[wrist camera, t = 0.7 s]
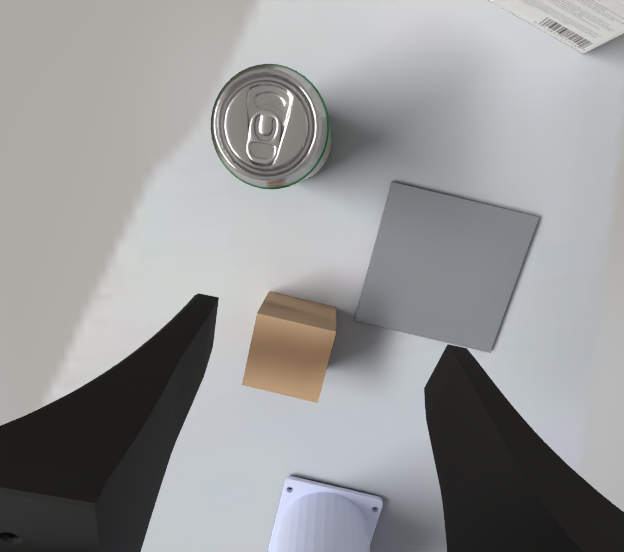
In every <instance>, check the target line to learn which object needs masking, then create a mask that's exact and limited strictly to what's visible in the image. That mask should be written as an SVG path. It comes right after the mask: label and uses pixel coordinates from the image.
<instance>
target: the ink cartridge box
mask: <svg viewBox="0 0 624 552" xmlns="http://www.w3.org/2000/svg"><path fill="white" fill-rule="evenodd" d="M489 1H491V2H493V3H494V4H496V5H498V6H500V7H502V8H503V9H505V10H507V11H509V12H511V13H512V14H514V15H516V16H518V17H519V18H521V19H523V20H525V21H527V22H528V23H530V24H532V25H534V26H535V27H537V28H539V29H541V30H542V31H544V32H546V33H548V34H550V35H551V36H553V37H555V38H556V39H558V40H560V41H562V42H564V43H565V44H567V45H569V46H571V47H572V48H574V49H576V50H577V51H579V52H581V53H586V52H589V51H591V50H593V49H595V48H596V47H598V46H600V45H602V44H604V43H606V42H608V41H610V40H612V39H614V38H616V37H618V36H620V35H622V34H624V0H489Z"/></svg>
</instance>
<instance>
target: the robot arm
mask: <svg viewBox="0 0 624 552" xmlns="http://www.w3.org/2000/svg"><path fill="white" fill-rule="evenodd" d="M218 299H219V298H218V297H213V296H208V295H203V294H197V295H195V296H194V297H193V298H192V299H191V300H190V301H189V303H188V304H187V305H186V306H185V307H184V308H183V309H182V310H181V311H180V312H179V313H178V314H177V315H176V316H175V317H174V318H173V319H172V320H171V321H170V322H169V323H167V324H166V325H165V326H164V327H163V328H162V329H161V330H160V331H159V332H158V333H156V334H155V335H154V336H153V337H152V338H151V339H149V340H148V341H147V342H146V343H144V344H143V345H142V346H141V347H139V348H138V349H137V350H136V351H135V352H133V353H132V354H131V355H129V356H128V357H127V358H125V359H124V360H122V361H121V362H120V363H118V364H117V365H115V366H114V367H112V368H111V369H109V370H108V371H106V372H105V373H103V374H102V375H100V376H99V377H97V378H95V379H94V380H92V381H90V382H89V383H87V384H85V385H84V386H82V387H80V388H79V389H77V390H75V391H73V392H72V393H70V394H68V395H66V396H64V397H62V398H60V399H58V400H56V401H54V402H52V403H50V404H48V405H46V406H44V407H42V408H40V409H38V410H36V411H34V412H32V413H30V414H28V415H26V416H23V417H21V418H19V419H16V420H14V421H11V422H9V423H6V424H4V425H1V426H0V552H140V551H141V548H142V545H143V542H144V538H145V535H146V532H147V528H148V525H149V522H150V518H151V515H152V512H153V509H154V506H155V502H156V499H157V496H158V493H159V490H160V487H161V483H162V480H163V477H164V474H165V471H166V468H167V465H168V462H169V459H170V456H171V453H172V450H173V448H174V445H175V442H176V440H177V437H178V435H179V433H180V430H181V428H182V426H183V424H184V421H185V419H186V417H187V414H188V412H189V410H190V407H191V405H192V403H193V400H194V398H195V396H196V393H197V391H198V389H199V386H200V384H201V382H202V379H203V377H204V374H205V371H206V367H207V364H208V361H209V358H210V354H211V351H212V347H213V340H214V332H215V324H216V315H217V307H218ZM424 392H425V409H426V420H427V425H428V430H429V435H430V440H431V445H432V450H433V455H434V460H435V464H436V469H437V474H438V479H439V484H440V489H441V495H442V501H443V510H444V520H445V530H446V541H447V552H624V512H623V511H621V510H620V509H619V508H618V507H616V506H615V505H614V504H612V503H611V502H610V501H609V500H607V499H606V498H605V497H604V496H603V495H601V494H600V493H599V492H598V491H596V490H595V489H594V488H593V487H592V486H591V485H590V484H589V483H587V482H586V481H585V480H584V479H583V478H582V477H581V476H579V475H578V474H577V473H576V472H575V471H574V470H573V469H572V468H571V467H569V466H568V465H567V464H566V463H565V462H564V461H563V460H562V459H561V458H560V457H559V456H558V455H557V454H556V453H555V452H554V451H553V450H552V449H551V448H550V447H549V446H548V445H547V444H546V443H545V442H544V441H543V440H542V439H541V438H540V437H539V436H538V435H537V434H536V433H535V431H534V430H533V429H532V428H531V427H530V426H529V425H528V424H527V422H526V421H525V420H524V419H523V418H522V417H521V416H520V414H519V413H518V412H517V411H516V410H515V409H514V407H513V406H512V405H511V404H510V403H509V401H508V400H507V399H506V398H505V396H504V395H503V394H502V393H501V391H500V390H499V389H498V388H497V386H496V385H495V384H494V382H493V381H492V380H491V379H490V377H489V376H488V375H487V373H486V372H485V371H484V370H483V368H482V367H481V366H480V364H479V363H478V362H477V361H476V359H475V358H474V357H473V356H472V354H471V353H470V352H469V351H468V350H467V348H462V347H457V346H453V345H447V347H446V349H445V351H444V352H443V354H442V356H441V358H440V360H439V362H438V364H437V365H436V367H435V369H434V371H433V373H432V375H431V377H430V379H429V380H428V382H427V384H426V386H425V388H424ZM288 487H291V488H292V489H288ZM373 507H377V508H376V509H373ZM382 507H383V501H382V499H381V498H380V497H378V496H374V495H370V494H366V493H361V492H357V491H353V490H349V489H344V488H340V487H336V486H332V485H327V484H323V483H319V482H315V481H310V480H306V479H302V478H298V477H293V476H290V477H287V478H286V480H285V484H284V488H283V492H282V496H281V500H280V504H279V508H278V512H277V516H276V519H275V523H274V527H273V531H272V535H271V539H270V543H269V547H268V551H267V552H370V544H371V541H372V537H373V534H374V531H375V528H376V525H377V522H378V519H379V516H380V513H381V510H382Z"/></svg>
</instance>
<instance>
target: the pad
mask: <svg viewBox="0 0 624 552" xmlns="http://www.w3.org/2000/svg"><path fill="white" fill-rule="evenodd" d="M538 219H539V217H537V216H533V215H529V214H524V213H520V212H516V211H512V210H508V209H503V208H499V207H495V206H491V205H487V204H482V203H478V202H474V201H470V200H466V199H462V198H457V197H453V196H449V195H445V194H441V193H436V192H432V191H428V190H424V189H420V188H416V187H411V186H407V185H403V184H399V183H395V182H392V183H391V187H390V190H389V194H388V198H387V201H386V205H385V209H384V213H383V216H382V220H381V224H380V227H379V231H378V235H377V238H376V242H375V246H374V249H373V253H372V257H371V260H370V264H369V268H368V271H367V275H366V279H365V283H364V286H363V290H362V294H361V297H360V301H359V305H358V308H357V312H356V316H355V321H358V322H363V323H367V324H371V325H375V326H379V327H384V328H388V329H392V330H396V331H400V332H405V333H409V334H413V335H417V336H422V337H426V338H430V339H434V340H438V341H443V342H447V343H451V344H455V345H459V346H464V347H468V348H472V349H476V350H481V351H485V352H489V353H490V352H491V349H492V346H493V343H494V341H495V338H496V335H497V332H498V330H499V327H500V324H501V321H502V319H503V316H504V313H505V310H506V307H507V305H508V302H509V299H510V296H511V294H512V291H513V288H514V285H515V283H516V280H517V277H518V274H519V272H520V269H521V266H522V263H523V260H524V258H525V255H526V252H527V249H528V247H529V244H530V241H531V238H532V236H533V233H534V230H535V227H536V225H537V222H538Z"/></svg>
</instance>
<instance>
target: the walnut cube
mask: <svg viewBox="0 0 624 552" xmlns="http://www.w3.org/2000/svg"><path fill="white" fill-rule="evenodd" d="M335 335H336V307H332V306H328V305H324V304H319V303H315V302H311V301H307V300H303V299H298V298H294V297H290V296H286V295H282V294H277V293H273V292H269V293H268V294H267V296H266V298H265V300H264V302H263V304H262V305H261V307H260V309H259V311H258V313H257V317H256V322H255V326H254V331H253V336H252V340H251V345H250V350H249V355H248V359H247V364H246V369H245V374H244V378H243V383H242V385H245V386H249V387H253V388H258V389H262V390H266V391H270V392H274V393H279V394H283V395H287V396H291V397H295V398H300V399H304V400H308V401H312V402H317V403H318V400H319V396H320V392H321V388H322V384H323V381H324V377H325V373H326V369H327V365H328V361H329V358H330V354H331V350H332V346H333V342H334V339H335Z"/></svg>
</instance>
